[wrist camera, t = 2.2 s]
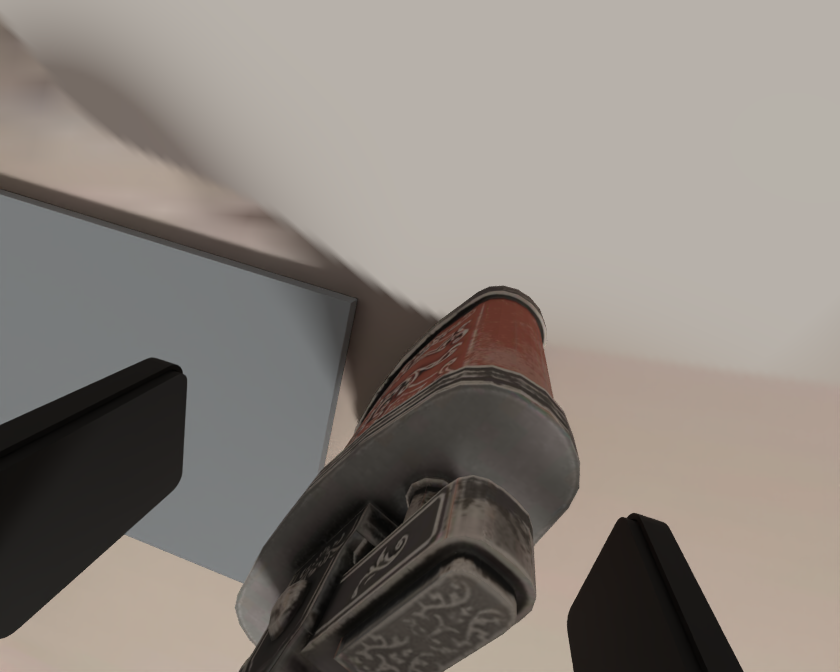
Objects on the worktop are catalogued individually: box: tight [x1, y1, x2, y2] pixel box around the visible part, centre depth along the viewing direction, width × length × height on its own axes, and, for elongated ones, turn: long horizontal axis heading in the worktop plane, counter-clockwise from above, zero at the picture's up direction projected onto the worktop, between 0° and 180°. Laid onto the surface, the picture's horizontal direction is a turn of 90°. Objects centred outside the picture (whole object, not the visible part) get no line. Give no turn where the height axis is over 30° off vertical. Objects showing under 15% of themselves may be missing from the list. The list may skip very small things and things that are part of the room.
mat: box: [0, 189, 358, 583], centre depth 17 cm, size 20×14×1 cm
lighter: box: [235, 286, 580, 672], centre depth 9 cm, size 8×3×10 cm, turn 141°
